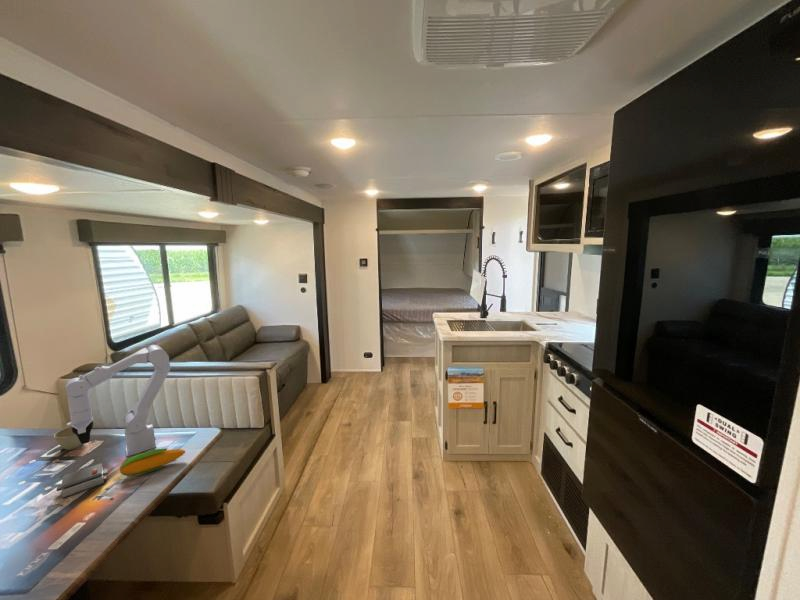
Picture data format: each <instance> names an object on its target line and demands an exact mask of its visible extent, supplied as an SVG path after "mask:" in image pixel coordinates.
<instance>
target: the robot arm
mask: <svg viewBox="0 0 800 600" xmlns="http://www.w3.org/2000/svg"><path fill="white" fill-rule="evenodd" d="M148 362H150V363H151V364H152V366H153V367H154V370H153V372H152V374H151V376H150V377H149V380H148V382H147V383H146V385H145V387H144V389H143V391H142V393H141V395H140V396H139V398H138V400H137V402H136V404H135V405H133V406H132V407H131V409H130V410H129V411H128V412H127V413H126V414H125V415H124V416H123V422H124V424H125V429H124V435H125V436H124V437H125V438H124V439H125V444H126V446H125V453H126V457H132V456H134V455H137V454H140V453H143V452H147V451H150V450H151V449H152V450H153V449H155V448H156V441H157V439H156V435H155V429H154V425H153V424H152V423H151V424H147V423H148V422H147V420H148V418H149V416H150V415H149V413H150V409H151V407H152V405H153V402H154V401H155V399H156V398H157V395H158V393H159V392H160V390H161V387H162V386H163V384H164V382H165V380H166V378H167V377H168V375H169V373H170V372H171V371H170V370H171V363H170V356H169V354H168V353H167V351H165V350H164V349H163V348H162V347H161V346H160V345H157V344H151V345H148V346H147V347H144V348H143V347H142V348H141V349H140V350H138V351H136V352H134V353H132V354H130V355H128V356H126V357H125V358H122V359H121V360H118V361H117V362H115V363H113V364H111V365H109V366H107V365H102V366H100V367H99V366H96V367H94V369H93V370H91V371H89V372H87V373H85V374H80V375H78V377H73V378H70V379H69V380H68V381H67V382H66V384H65V386H64V388H65V392H66V394H67V399H68V400H67V404H68V410H69V417H70V422H67V423H66V428H68V427H71V426H72V427H73V428H72V432H73V433H75V434H76V435H77V437H78V438H79V440H80V442H81V444H82V445H84V444H85V445H86V444H88V443H90V439H91V432H92V429H93V426H94V417H93V411H92V406H91V398H90V395H89V392H88V391H89V389H93V388H95V387H96V386H99V385H101V384H102V383H105V382H107V381H108V380H111V379H112V378H113V376H114V374H116V373H118V372H120V371H124V370H125V369H127V368H129V367H132V366H134V365H136V364H148Z"/></svg>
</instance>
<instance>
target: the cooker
mask: <svg viewBox="0 0 800 600" xmlns="http://www.w3.org/2000/svg"><path fill="white" fill-rule="evenodd" d="M108 474H109V471H108V468H104V469H103V467H102V475H100V476H97V477H94V478H91V479H88V480H85V481H82V482H79V483H76V484H73V485H71V486H68V487H65V488H62V489H61V484H62V483H59V484H57V485H56V492H60V491H61V495H62V499H63V500H64V499H66V498H67V499H68V497H72V496H75V495H77V494H80V493H83V492H87V491H88V490H92V489H94V488H97V487H99V486H103V485H105V482H104V480H105V479H104V476H106V475H108Z"/></svg>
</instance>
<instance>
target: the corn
mask: <svg viewBox="0 0 800 600" xmlns="http://www.w3.org/2000/svg"><path fill="white" fill-rule="evenodd" d="M185 453H186V450H185V449H182V448H181V449H180V448H177V449H175V448H174V449H168V448H158V449H152V450H147V451H143V452H140V453H137V454H134V455H131V456H129V458H127V459H126V460H125V461H123V463H122V465H121V466H120V467H119V473H120V474H121V475H123V476H126V477H128V476H129V477H135V476H139V475H143V474H144V475H145V474H147V473H150V472H151V473H152V472H153V471H156V470H159V469H162V468H164V467H165V468H166V466H165V465H168V464H171V463H172V462H174V461H176V460H177V459H179V458H180V457H182V456H184V455H185Z"/></svg>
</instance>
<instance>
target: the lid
mask: <svg viewBox="0 0 800 600" xmlns="http://www.w3.org/2000/svg"><path fill="white" fill-rule="evenodd" d="M102 468H103V463H98V464H95V465H92V466H89V467H86V468H82V469H79V470H77V471H73V472H70V473H68V474H65V475H63V476H62V479H61V483H60V484H61V489H62V488H65V487H68V486H71V485H73V484H76V483H79V482H82V481H85V480H88V479H91V478H94V477H97V476H100V475H102Z"/></svg>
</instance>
